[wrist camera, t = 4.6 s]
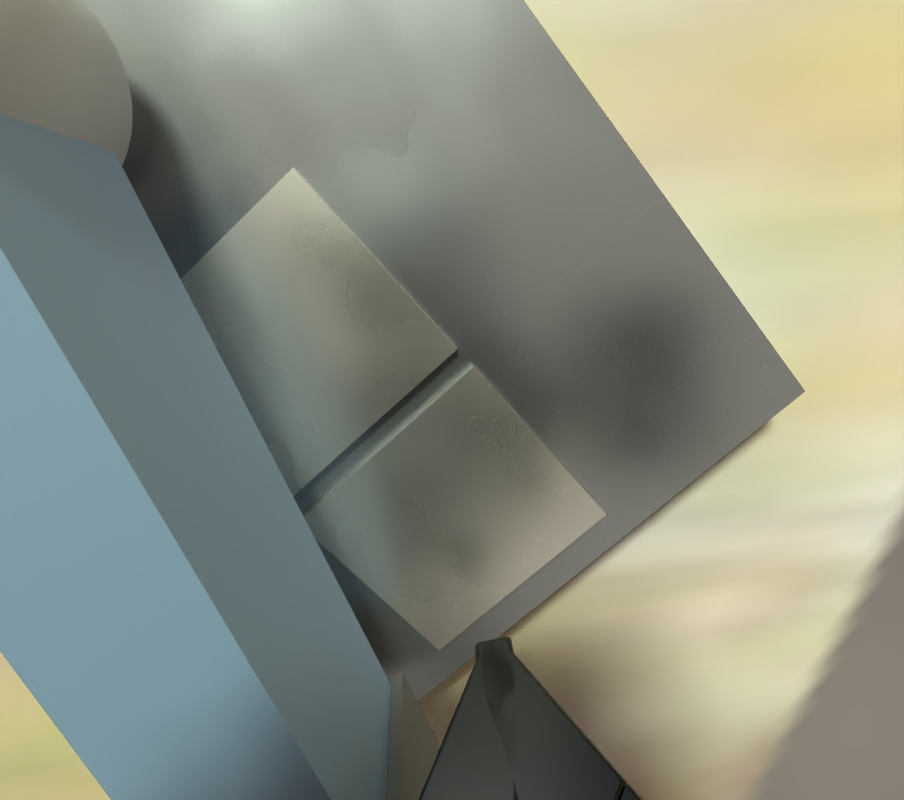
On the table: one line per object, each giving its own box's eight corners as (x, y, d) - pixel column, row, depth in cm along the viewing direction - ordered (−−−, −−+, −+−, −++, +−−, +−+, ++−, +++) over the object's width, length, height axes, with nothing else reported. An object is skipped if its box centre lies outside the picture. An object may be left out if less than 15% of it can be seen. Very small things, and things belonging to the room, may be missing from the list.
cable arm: (453, 730, 10) (476, 989, 6) (297, 790, 10) (236, 1076, 7) (48, -89, 6) (-369, -478, 3) (-183, 13, 7) (-845, -253, 3)
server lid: (763, 376, 11) (843, 405, 9) (323, 734, 12) (305, 829, 10) (322, -221, 8) (292, -380, 6) (-183, 335, 10) (-343, 357, 8)
